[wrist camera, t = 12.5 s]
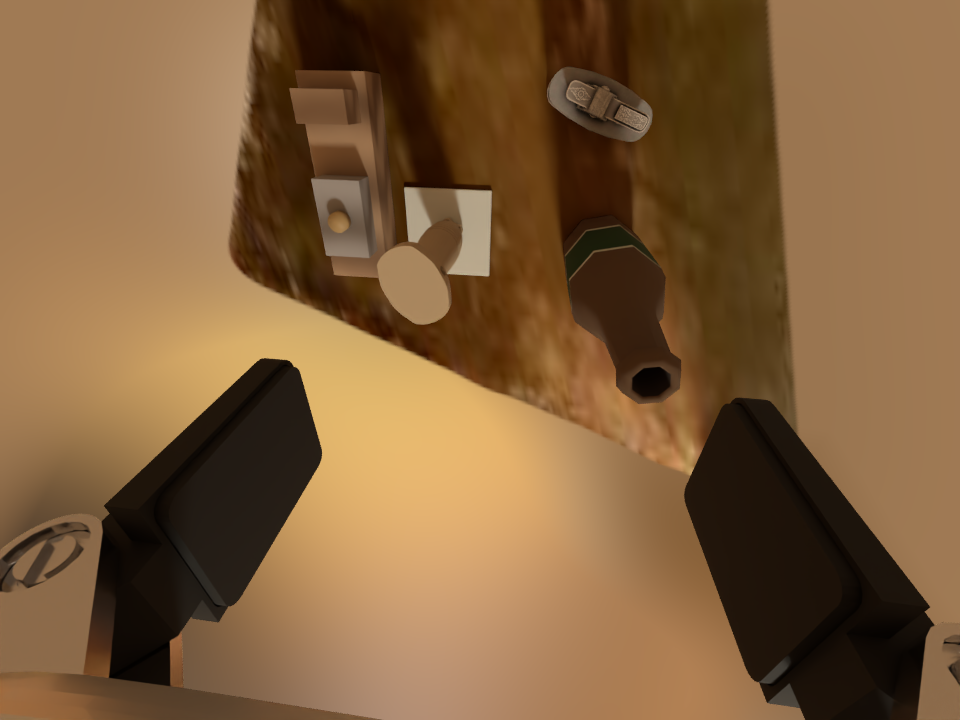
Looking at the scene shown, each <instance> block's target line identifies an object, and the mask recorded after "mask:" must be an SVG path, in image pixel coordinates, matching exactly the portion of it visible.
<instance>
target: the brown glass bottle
mask: <svg viewBox="0 0 960 720" xmlns="http://www.w3.org/2000/svg"><path fill="white" fill-rule="evenodd" d="M563 249H564V260H565V272H566V280H567V286H568V292H569V298H570V304H571V310H572V314H573V317H574V320H575V322H576V323H577V324H579V325H580V326H581V327H583V328H584V329H586V330H587V331H588V332H590V333H591V334H593V335H594V336H596V337H597V338H599V339H600V340H601V341H603V342H604V343H605V344H606V346H607V349H608V351H609V354H610V356H611V359H612V361H613V363H614V366H615V368H616V386H617V387H618V388H619V390H620V391H621V392H622V393H623V394H625V395H626V396H628V397H629V398H631V399H632V400H634V401H635V402H637V403H638V404H646V403H659V402H663V401H664V400H666V399H667V398H668V397H669V396H671V395H672V394H673V393H675V392H676V391H677V390H679V389H680V377H681V360H680V359H679V358H678V357H676V356H675V355H673V354H672V353H671V352H670V350H669V347H668V344H667V342H666V339H665V337H664V334H663V332H662V329H661V327H660V324H659V321H660V320H661V319H662V317H663V313H664V297H665V275H664V273H663V271H662V269H661V267H660V266H659V265H658V263H657V262H656V260H655V259H654V258H653V256H652V255H651V254H650V252H649V251H648V250H647V248H646V247H645V245H644V244H643V243H642V241H641V240H640V239H639V237H638V236H637V235H636V234H635V233H634V232H633V231H631V230H630V229H629V228H628V227H626V226H625V225H624V224H623V223H621V222H620V221H619V220H618V219H616V218H615V217H614V216H612V215H609V216H603V217H597V218H591V219H585V220H582V221H581V222H580V223H579V224H578V226H577V227H576V228H575V229H574V231H573V232H572V233H571V234H570V236H569V237H568V238H567V239H566V240H565V242H564V243H563Z"/></svg>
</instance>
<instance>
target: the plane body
mask: <svg viewBox="0 0 960 720" xmlns="http://www.w3.org/2000/svg"><path fill="white" fill-rule="evenodd" d="M295 73H296V78H297V83H298V88H289V89H290V94H291V99H292V103H293V108H294V113H295V118H296V123H297V124H305V125H306V130H307V135H308V140H309V146H310V151H311V156H312V161H313V166H314V172H315V178H312V179H311V180H312V185H313V190H314V195H315V200H316V206H317V211H318V216H319V221H320V226H321V231H322V236H323V241H324V246H325V251H326V256H331V260H332V265H333V270H334V275H343V276H359V277H375V278H379V275H378V269H377V264H378V261H379V260H380V258H381V257H382V256H383V254H385V253H386V252H387V251H388V250H389V249H390V248H392V247H393V246H395V245H397V241H396V230H395V220H394V210H393V200H392V190H391V179H390V169H389V159H388V149H387V139H386V128H385V118H384V108H383V98H382V88H381V77H380V74H379V73H373V72H367V71H322V70H295Z"/></svg>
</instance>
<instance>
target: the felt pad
mask: <svg viewBox="0 0 960 720" xmlns="http://www.w3.org/2000/svg"><path fill="white" fill-rule="evenodd" d="M404 191H405V203H406V216H407V228H408V240H409V242H416V243H418V241H419V239H420V237H421V236H422V235H423V233H424V232H425V231H426V230H427V229H428V228H429V227H430V226H432V225H433V224H435V223H437V222H440V221H443V220H444V219H445V218H451V220H452V221H453V222H455V223H457V224H460V225H461V226H462V228H463V232H462V248H461V251H460V254H459V256H458V258H457V260H456V262H455V263H454V265H453V266H452V268H451V269H450V270H449V272H448V273H447V274H460V275H477V276H489V268H490V236H491V204H492V190H470V189H446V188H421V187H404Z"/></svg>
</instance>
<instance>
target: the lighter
mask: <svg viewBox="0 0 960 720" xmlns="http://www.w3.org/2000/svg"><path fill="white" fill-rule="evenodd" d="M547 98H548V101H549V103H550V104H551V105H552V106H553V107H554V108H555V109H557V110H558V111H559V112H561V113H562V114H563V115H564V116H566V117H568V118H569V119H571V120H572V121H574V122H576V123H578V124H579V125H581V126H583V127H585V128H586V129H588V130H590V131H593V132H595V133H598V134H601V135H603V136H606V137H609V138H613V139H618V140H623V141H627V142H634V141H636V140H638V139H640V138H641V137H642V136H644V135H645V133H646V132H647V131H648V129H649V127H650V125H651V122H652V110H651V108H650V106H649V105H648V104H647V103H646V102H645V101H644V100H642V99H641V98H640V97H639V96H638V95H636V94H635V93H634V92H633V91H632V90H630V89H628V88H627V87H625V86H623V85H622V84H620V83H618V82H617V81H615V80H613V79H611V78H608V77H606V76H603V75H601V74H598V73H595V72H593V71H589V70H584V69H580V68H575V67H564V68H562V69H561V70H559V71H558V72H557V73H556V74H555V75H554V77H553V78H552V79H551V81H550V83H549V85H548V89H547Z"/></svg>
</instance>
